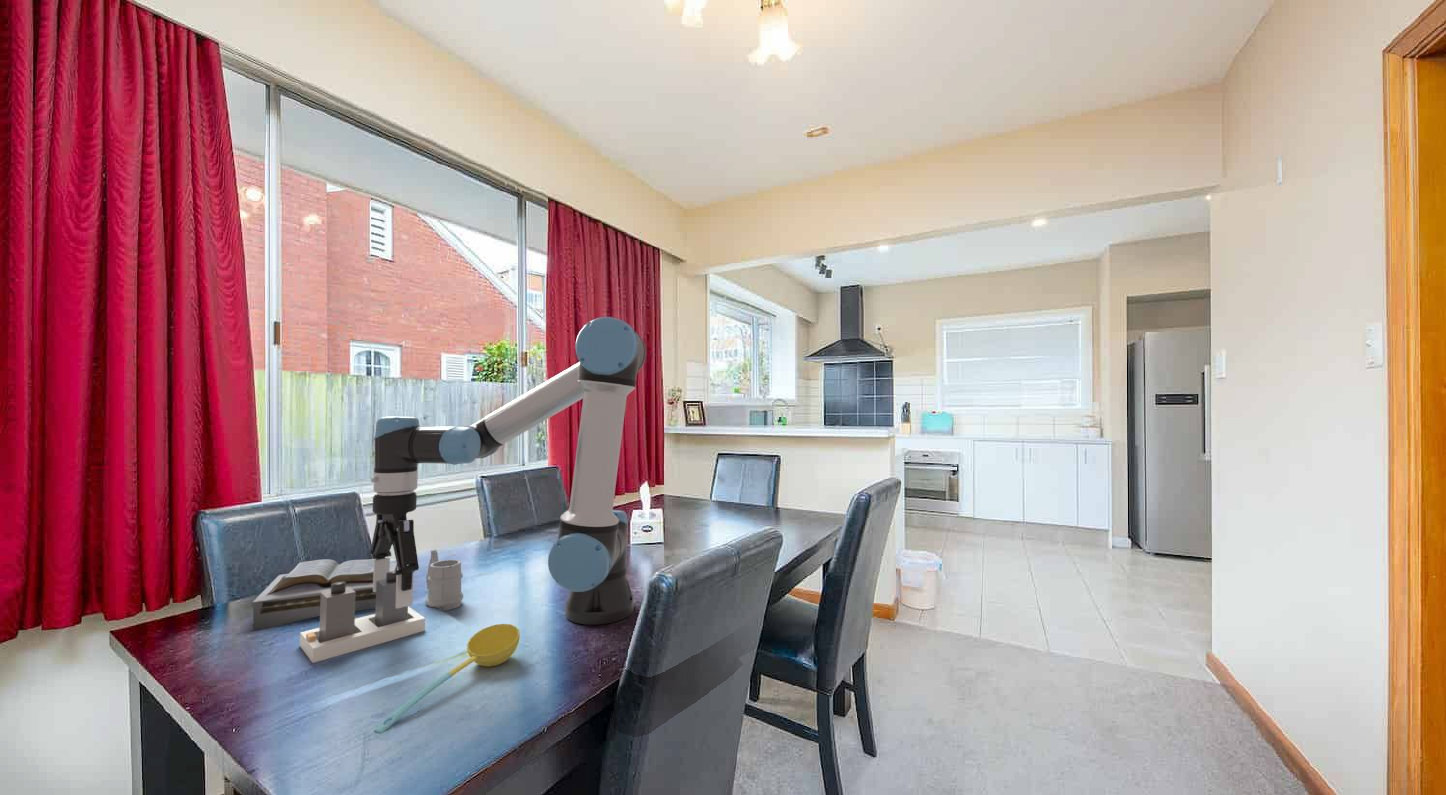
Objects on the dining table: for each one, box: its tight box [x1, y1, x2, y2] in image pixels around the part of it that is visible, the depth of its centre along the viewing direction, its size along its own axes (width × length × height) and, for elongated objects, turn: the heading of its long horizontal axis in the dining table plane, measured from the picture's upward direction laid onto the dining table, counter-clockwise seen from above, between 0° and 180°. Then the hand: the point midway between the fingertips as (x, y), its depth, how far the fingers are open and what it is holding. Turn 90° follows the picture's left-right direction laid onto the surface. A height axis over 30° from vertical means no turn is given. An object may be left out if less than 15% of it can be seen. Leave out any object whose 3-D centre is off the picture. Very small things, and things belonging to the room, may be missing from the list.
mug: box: [425, 549, 464, 612], centre depth 120 cm, size 8×12×12 cm, turn 54°
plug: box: [374, 571, 409, 627], centre depth 103 cm, size 4×4×12 cm
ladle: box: [373, 623, 521, 734], centre depth 85 cm, size 9×26×6 cm, turn 161°
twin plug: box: [318, 582, 356, 643], centre depth 96 cm, size 4×4×12 cm
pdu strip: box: [299, 606, 426, 664], centre depth 100 cm, size 10×18×4 cm, turn 140°
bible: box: [251, 558, 398, 632], centre depth 119 cm, size 23×27×10 cm
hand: (391, 598), depth 103 cm, fingers open, 13 cm apart
